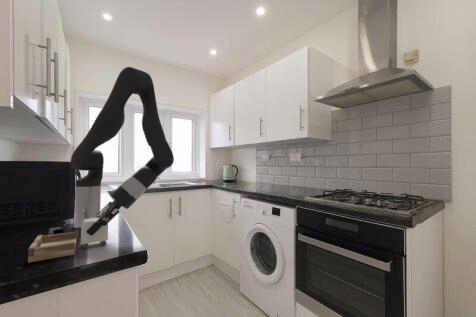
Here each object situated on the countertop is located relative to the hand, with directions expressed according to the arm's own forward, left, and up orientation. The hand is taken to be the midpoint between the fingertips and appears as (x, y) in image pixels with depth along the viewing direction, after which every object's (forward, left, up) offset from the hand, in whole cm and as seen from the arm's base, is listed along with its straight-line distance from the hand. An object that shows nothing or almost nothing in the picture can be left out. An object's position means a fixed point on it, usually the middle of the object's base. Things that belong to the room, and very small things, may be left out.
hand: (88, 230), depth 72 cm
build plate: (-14, -9, -6) cm, 18 cm away
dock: (-1, -8, -5) cm, 10 cm away
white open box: (0, +2, -5) cm, 5 cm away
